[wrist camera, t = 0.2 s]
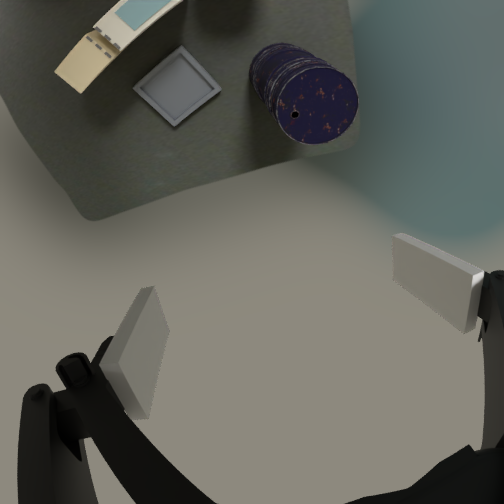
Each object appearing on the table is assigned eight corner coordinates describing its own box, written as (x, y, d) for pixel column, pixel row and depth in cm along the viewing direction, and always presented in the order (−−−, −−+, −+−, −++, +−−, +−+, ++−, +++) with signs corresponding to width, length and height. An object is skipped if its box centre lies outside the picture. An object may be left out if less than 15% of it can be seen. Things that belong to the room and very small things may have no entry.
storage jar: (304, 35, 34) (354, 57, 24) (317, 90, 41) (363, 132, 32) (239, 53, 35) (263, 80, 25) (258, 108, 42) (286, 156, 33)
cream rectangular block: (83, 52, 29) (53, 72, 22) (110, 24, 27) (85, 34, 20) (103, 70, 32) (80, 94, 25) (131, 43, 30) (113, 58, 23)
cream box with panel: (115, 19, 27) (92, 27, 19) (167, -24, 24) (161, -33, 16) (136, 38, 30) (120, 51, 23) (188, -4, 27) (189, -6, 20)
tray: (133, 85, 35) (132, 88, 34) (181, 44, 32) (181, 45, 31) (174, 123, 41) (174, 126, 40) (220, 86, 38) (222, 89, 38)
